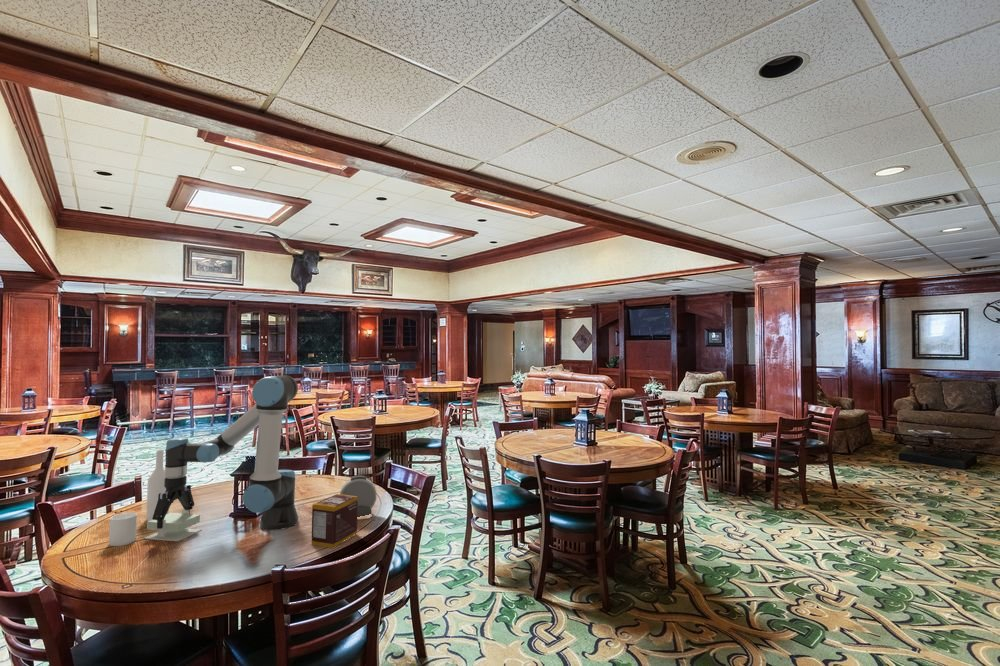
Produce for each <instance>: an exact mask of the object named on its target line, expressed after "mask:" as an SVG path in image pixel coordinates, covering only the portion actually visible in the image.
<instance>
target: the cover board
mask: <svg viewBox="0 0 1000 666" xmlns="http://www.w3.org/2000/svg"><path fill="white" fill-rule="evenodd" d="M161 517H162V516H161ZM164 519H166V527H165V531H177V532H178V531H180V530H183V529H185V528H190V527H191V526H194V525H196V524H198V523H200V522H201V520H200V519H201V514H193V513H191V514H182V513H178V512H177V513H176V512H175V513H174V512H170V513H169V512H168V514H166V516H165V518H164ZM146 530H151V531H152V530H153V531H158V529H157V520H150V521H147V522H146Z"/></svg>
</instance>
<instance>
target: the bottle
mask: <svg viewBox="0 0 1000 666" xmlns="http://www.w3.org/2000/svg"><path fill="white" fill-rule="evenodd" d="M164 450H165V449H164ZM164 450H163V449H157V450H156V457H155V459H156V460H155V469H154V470H153V471H152V473H151V474H150V476H149V477H148V480H147V491H146V492H147V493H146V494H147V495H146V513H145V514H146V517H145V519H146V521H147V522H148V521H150V520H153V519H152V518H153V515H154V512H155V508H156V505H157V502H158V495H159V493H165V491H166V488H165V487H164V481H165V478H166V477H165V467H164V455H165V454H164ZM168 500H169V499H168ZM167 514H169V510H168V512H167ZM156 517H157V516H156Z"/></svg>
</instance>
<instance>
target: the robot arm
mask: <svg viewBox="0 0 1000 666" xmlns="http://www.w3.org/2000/svg"><path fill="white" fill-rule="evenodd" d="M298 391H299V386H298V382H297V381H296V380H295V379H294V378H293V377H292V376H289V375H282V374H281V375H271V376H270V375H268V376H266V377H263V378H260V379H259V380H258V381H257V382H255V384H254V385H253V387H252V390H251V396H252V399H253V401H254V403H255V404H254V405H253V406H252V407H251V408H249V410H247V411H246V412H245V413H243V414H242V415H241V416H240V417H238V419H237V420H235V421H234V422H233V423H232V424H231V425H230V426H228V427H227V428H226V429H225V430H224V431H223V432H221V433H220V434H219V435H218V436H217V437H216V438H213V439H211V440H208V441H203V442H199V443H195V442H193V443H192V442H189V438H187V437H184V436H183V437H181V436H180V437H172V438H169V439H167V441H166V444H165V445H166V446H165V449H164V450H165V466H164V470H165V477H166V478H165V481H164V487H165V488H166V491H165V493H159V495H158V502H157V505H156V508H155V512H154V515H153V518H152V519H153V520H157V529H158V530H157V532H158V536H161V537H164V536H165V527H166V519H164V518H165V516H166V514H167V512H168V510H169V509H170V508H171V505H172V504H173V503H174V501H176V500H178V502H179V503H180V505H181V506H182V507H183V509H181V514H190V513H191V510H193V507H195V502H194V498H193V494H192V490H191V489H192V486H191V485H190V484H187V478H188V477H187V474H188V463H204V464H205V463H212V462H215V461H216V459H217V458H218V457H220V456H225V455H226V454H229V453H230V452H232V451H233V449H234V447H235V445H237V444H238V443H239V442H240V441H242V440H243V439H244V438H245V437H246V436H247V435H248V434H250V433H251V432H253V430H254V429H256V428H257V427H258V428H257V429H258V430H257V440H256V441H257V442H256V450H255V451H256V452H255V453H256V454H255V462H254V472H253V473H252V474H251V475H250V476H249V482H248V486H247V487H246V488H245V490H244V491H243V493H242V502H243V504H244V506H245V508H247V510H248V511H250V512H252V513H256V514H260V513H262V514H261V518H260V520H259V528H260V529H262V530H266V531H279V530H283V529H289V528H291V526H292V527H294V526H296V525H297V524H298V523H299V515H298V512H297V508H296V506H295V496H296V494H295V493H296V487H295V486H296V472H295V471H294V470H292V469H279V462H280V461H279V459H280V452H281V451H280V450H281V448H280V447H281V437H282V426H283V415H284V413H285V412H286V411H287V410H288V404H289V403H290V402H291V401H292V400H294V399H295V398H296V396H297V394H298ZM168 499H169V500H168ZM168 513H169V512H168ZM156 516H157V517H156ZM161 516H162V517H161ZM295 524H296V525H295Z"/></svg>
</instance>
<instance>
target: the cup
mask: <svg viewBox="0 0 1000 666" xmlns="http://www.w3.org/2000/svg"><path fill="white" fill-rule="evenodd" d="M137 521H138V513H136V512H125V513H123V512H122V513H119V514H115V515H112V516H111V517H110V518H109V531H108V533H109V535H108V536H109V537H108V545H109V546H111V547H121V546H126V545H130V544H132V543H134V542H135V541H136V539H137V525H138V523H137Z"/></svg>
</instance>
